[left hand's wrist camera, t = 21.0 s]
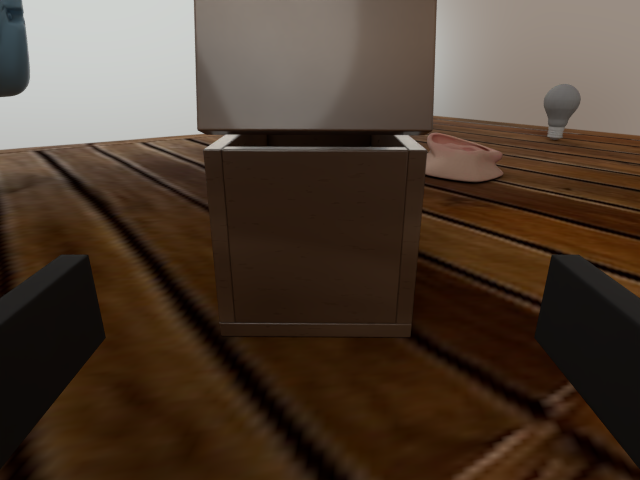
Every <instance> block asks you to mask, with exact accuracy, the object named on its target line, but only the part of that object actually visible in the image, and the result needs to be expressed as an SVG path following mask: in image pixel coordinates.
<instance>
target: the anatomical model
mask: <svg viewBox="0 0 640 480" xmlns="http://www.w3.org/2000/svg"><path fill="white" fill-rule="evenodd" d="M427 144H428V147H429V148H430V152H429V153H427V161H426V172H425V175H429V176H434V177H439V178H444V179H451V180H458V181H466V182H481V181H487V180H491V179H494V178H497V177H500V176H502V175H503V172H502V171H501V170H500V169H499V168H498V167H497V166H496V164H495V163H496V162H497V161H499V160H500V159H501V158H502V153H501V152H499V151H497V150H494V149H491V148H488V147H485V146H483V145H480V144H477V143H473V142H470V141H467V140H463V139H460V138H456V137H453V136H449V135H446V134H441V133H431V134H430V135H429V136H428V138H427Z"/></svg>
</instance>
